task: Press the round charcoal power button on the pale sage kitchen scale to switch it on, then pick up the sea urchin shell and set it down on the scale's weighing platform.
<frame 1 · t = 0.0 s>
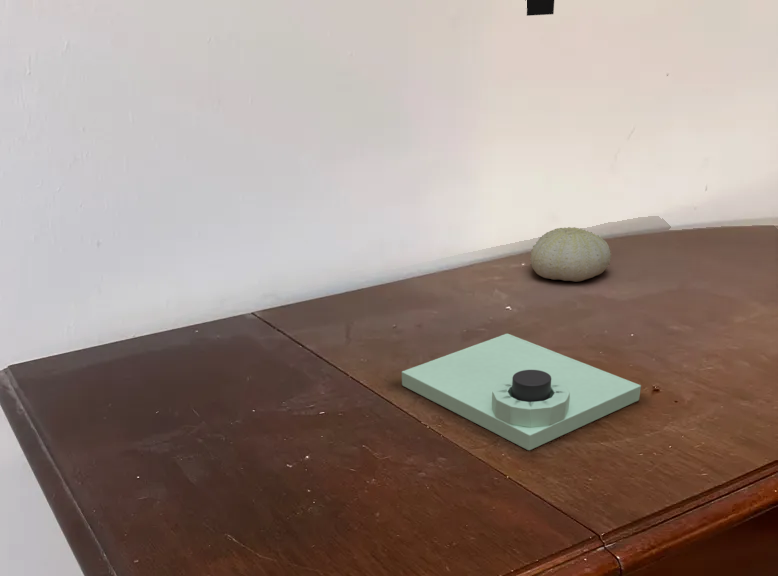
hand: (538, 11, 89), 26 cm above the table, tool pointing down, fingers open, 13 cm apart
scale: (516, 392, 71), on the table
sea urchin shell: (568, 275, 96), on the table
power button: (531, 386, 64), point 3 cm above the table, slide at 0.2 cm
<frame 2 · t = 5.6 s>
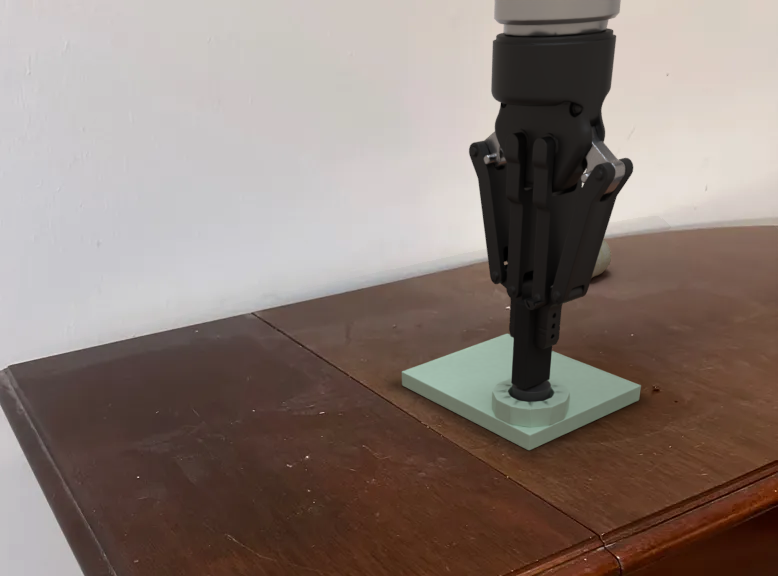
hand: (530, 381, 64), 4 cm above the table, tool pointing down, fingers closed
power button: (530, 393, 64), point 3 cm above the table, slide at -0.4 cm, touching gripper
everything else where it was.
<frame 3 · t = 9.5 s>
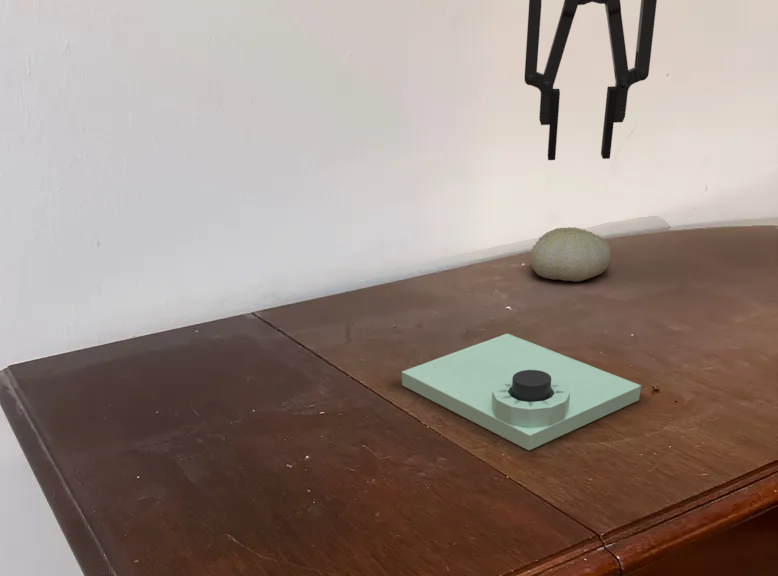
hand: (578, 156, 89), 13 cm above the table, tool pointing down, fingers open, 5 cm apart
power button: (531, 386, 64), point 3 cm above the table, slide at 0.2 cm
everything else where it was.
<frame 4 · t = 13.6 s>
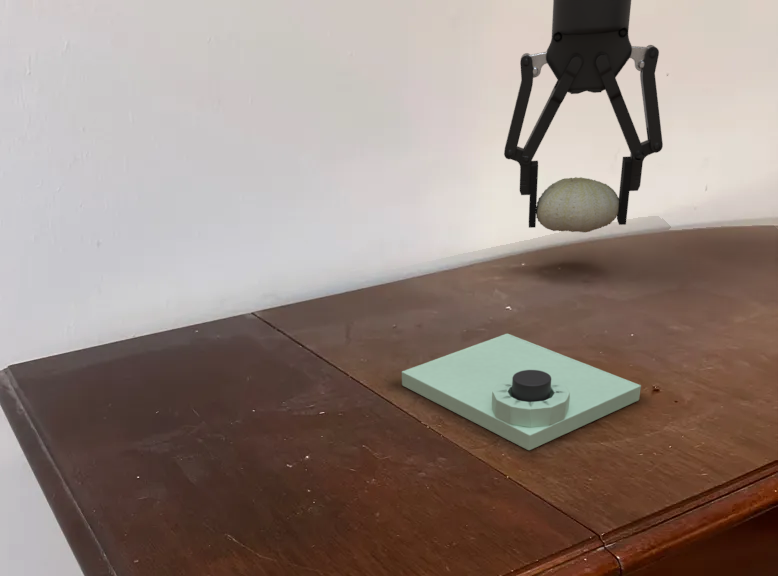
hand: (576, 222, 93), 6 cm above the table, tool pointing down, fingers closed on sea urchin shell, 9 cm apart
sea urchin shell: (575, 227, 93), point 5 cm above the table, touching gripper
everything else where it was.
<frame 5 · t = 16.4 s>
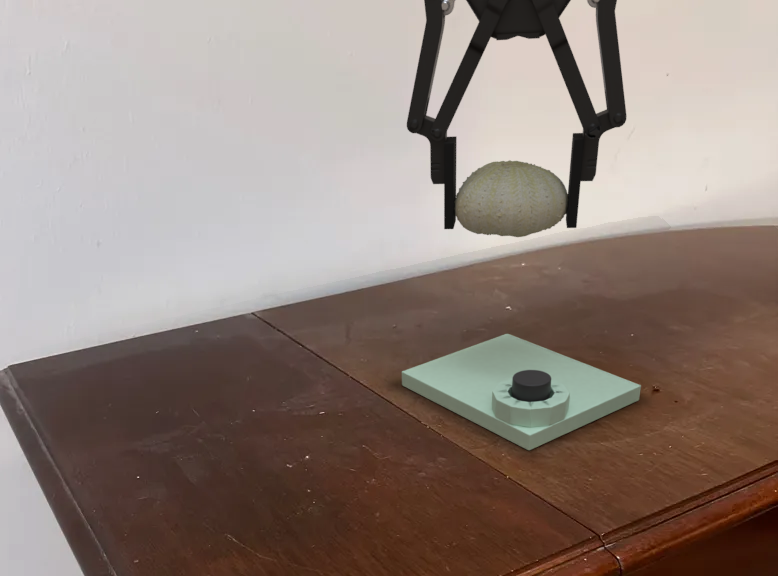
hand: (509, 224, 67), 13 cm above the table, tool pointing down, fingers closed on sea urchin shell, 9 cm apart
sea urchin shell: (508, 229, 68), point 13 cm above the table, touching gripper
everything else where it was.
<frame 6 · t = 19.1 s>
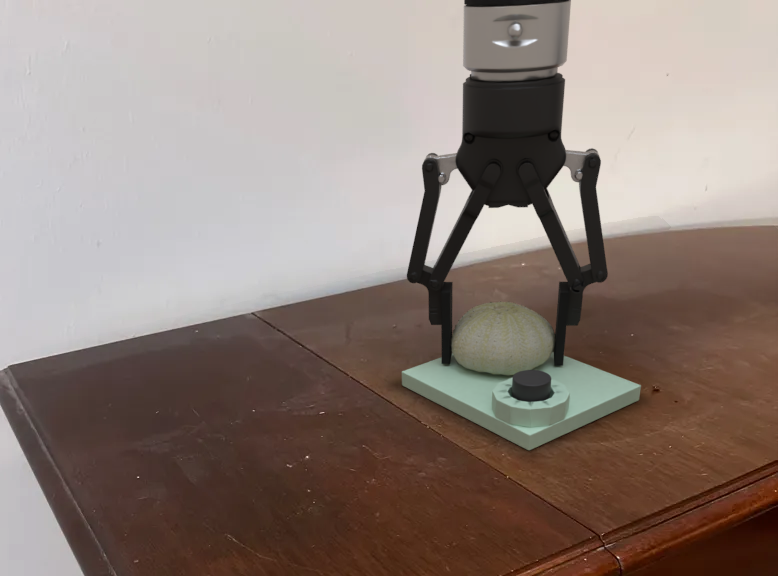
hand: (501, 358, 73), 2 cm above the table, tool pointing down, fingers closed on sea urchin shell, 9 cm apart
sea urchin shell: (501, 363, 73), point 1 cm above the table, touching gripper, scale
everything else where it was.
when the fingers open (2 cm above the table, at t = 19.5 s): sea urchin shell stays where it is, resting on scale.
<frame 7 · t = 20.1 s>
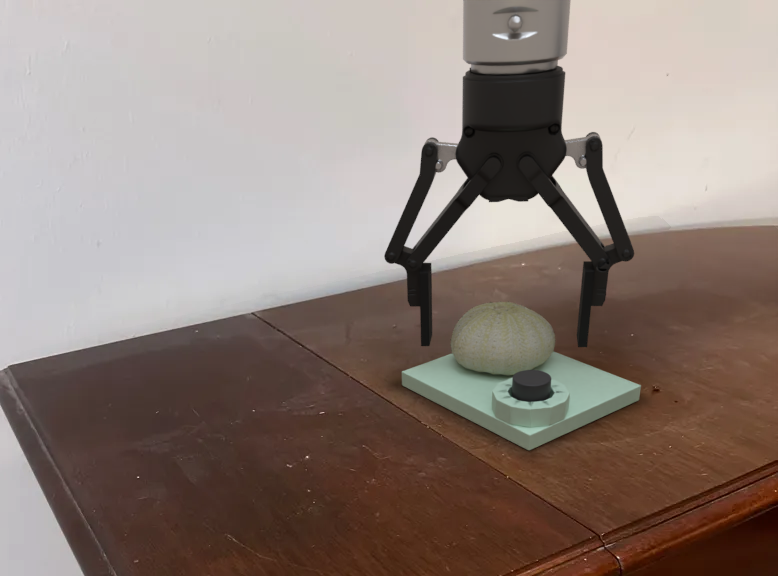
hand: (503, 341, 72), 3 cm above the table, tool pointing down, fingers open, 13 cm apart
sea urchin shell: (500, 363, 73), point 1 cm above the table, touching scale
everything else where it was.
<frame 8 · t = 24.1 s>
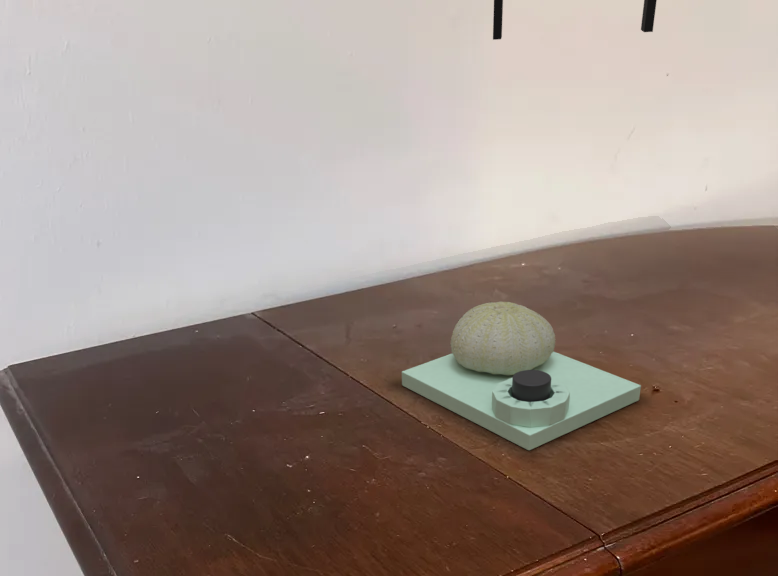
hand: (570, 35, 76), 25 cm above the table, tool pointing down, fingers open, 13 cm apart
nothing on the table moved.
at the end: power button pushed in 0.8 cm at the most during the clip, back to 0.2 cm at the end; sea urchin shell inside the target area on the scale (0.6 cm from its centre), point 1.2 cm above the scale's base; sea urchin shell touching scale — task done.
